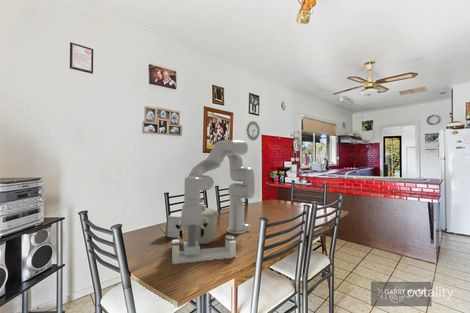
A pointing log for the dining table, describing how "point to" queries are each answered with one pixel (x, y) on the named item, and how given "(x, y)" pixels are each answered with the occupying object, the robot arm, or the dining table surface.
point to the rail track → (203, 256)
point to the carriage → (191, 242)
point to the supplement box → (173, 225)
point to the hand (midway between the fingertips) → (191, 237)
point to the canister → (210, 228)
